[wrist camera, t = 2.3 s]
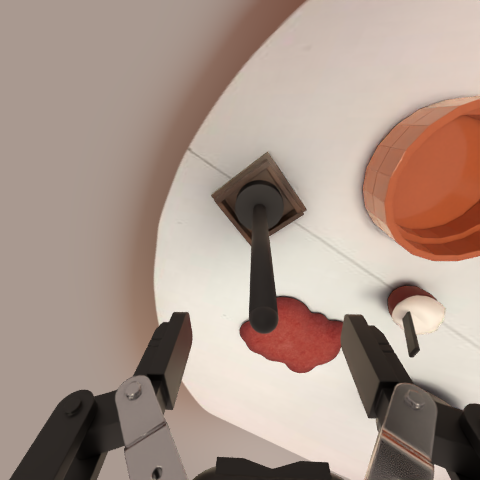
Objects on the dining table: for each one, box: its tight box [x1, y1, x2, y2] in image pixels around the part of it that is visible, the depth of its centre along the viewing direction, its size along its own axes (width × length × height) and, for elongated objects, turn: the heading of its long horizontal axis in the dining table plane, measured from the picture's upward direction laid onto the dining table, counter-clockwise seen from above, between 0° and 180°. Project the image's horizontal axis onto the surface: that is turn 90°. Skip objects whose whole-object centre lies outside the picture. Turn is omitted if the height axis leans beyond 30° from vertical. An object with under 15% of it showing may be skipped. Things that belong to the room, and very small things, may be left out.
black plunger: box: [235, 180, 284, 334], centre depth 23 cm, size 6×6×22 cm
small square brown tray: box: [211, 152, 306, 246], centre depth 32 cm, size 9×9×3 cm
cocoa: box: [388, 286, 446, 357], centre depth 33 cm, size 10×6×12 cm, turn 53°
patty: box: [240, 297, 343, 373], centre depth 42 cm, size 18×14×2 cm
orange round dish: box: [363, 96, 480, 261], centre depth 28 cm, size 17×17×6 cm
